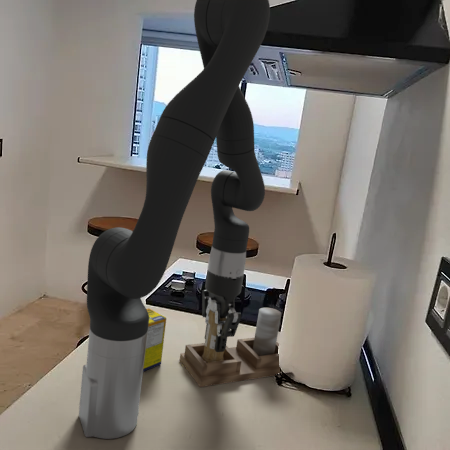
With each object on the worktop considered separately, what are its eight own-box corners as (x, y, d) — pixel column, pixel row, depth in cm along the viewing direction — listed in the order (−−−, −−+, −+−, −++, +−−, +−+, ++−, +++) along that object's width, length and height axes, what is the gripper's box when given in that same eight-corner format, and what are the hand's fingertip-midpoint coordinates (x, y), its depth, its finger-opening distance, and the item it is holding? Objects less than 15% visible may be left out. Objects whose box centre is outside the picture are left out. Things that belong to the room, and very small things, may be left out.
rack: (200, 387, 92) (208, 329, 90) (179, 359, 102) (186, 306, 99) (292, 372, 103) (302, 321, 101) (266, 348, 113) (275, 301, 110)
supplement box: (143, 353, 102) (148, 307, 100) (161, 364, 98) (167, 317, 96) (121, 361, 98) (126, 313, 95) (140, 373, 94) (145, 324, 92)
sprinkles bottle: (216, 367, 96) (225, 307, 93) (197, 359, 98) (206, 300, 95) (227, 359, 100) (236, 301, 97) (209, 351, 102) (217, 294, 99)
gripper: (195, 258, 99) (185, 331, 102) (225, 282, 87) (213, 364, 90) (226, 258, 102) (215, 329, 106) (259, 281, 90) (246, 360, 94)
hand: (214, 345), depth 98 cm, fingers closed on sprinkles bottle, 4 cm apart
